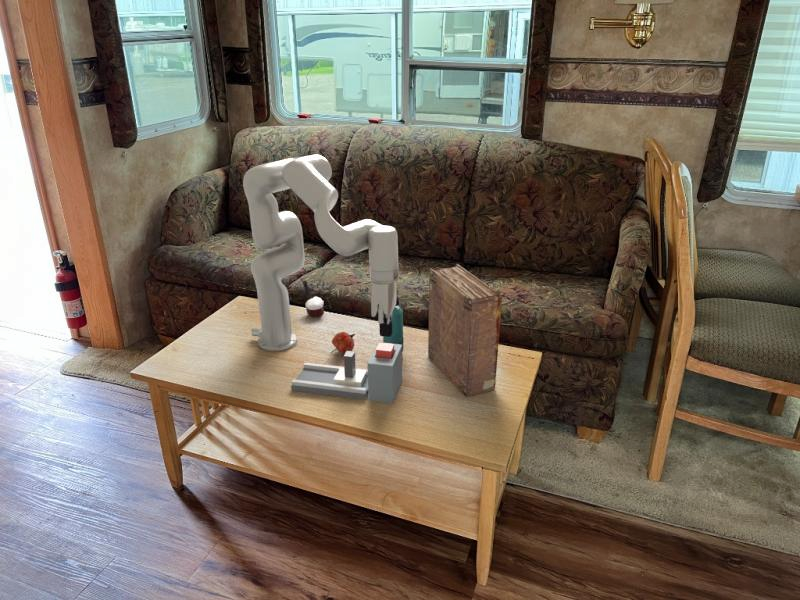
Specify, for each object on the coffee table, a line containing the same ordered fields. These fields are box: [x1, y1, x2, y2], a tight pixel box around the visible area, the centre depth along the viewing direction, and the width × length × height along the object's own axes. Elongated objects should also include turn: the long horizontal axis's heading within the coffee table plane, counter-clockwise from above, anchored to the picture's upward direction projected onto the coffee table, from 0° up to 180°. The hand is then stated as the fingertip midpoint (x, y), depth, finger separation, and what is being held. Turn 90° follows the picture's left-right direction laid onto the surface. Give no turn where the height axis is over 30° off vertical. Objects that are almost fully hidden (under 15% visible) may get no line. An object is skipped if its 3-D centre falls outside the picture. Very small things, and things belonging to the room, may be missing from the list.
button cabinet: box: [367, 341, 403, 404], centre depth 176 cm, size 7×12×12 cm, turn 167°
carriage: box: [334, 350, 367, 387], centre depth 178 cm, size 8×6×9 cm
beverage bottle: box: [382, 295, 405, 353], centre depth 192 cm, size 6×7×20 cm
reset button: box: [376, 342, 394, 359], centre depth 173 cm, size 4×4×4 cm
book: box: [427, 263, 503, 398], centre depth 180 cm, size 25×9×30 cm, turn 24°
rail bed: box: [290, 362, 369, 401], centre depth 181 cm, size 22×12×3 cm, turn 77°
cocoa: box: [302, 279, 325, 318], centre depth 220 cm, size 10×6×12 cm, turn 26°
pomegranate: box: [330, 331, 356, 356], centre depth 196 cm, size 7×7×10 cm
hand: (386, 335), depth 170 cm, fingers closed
